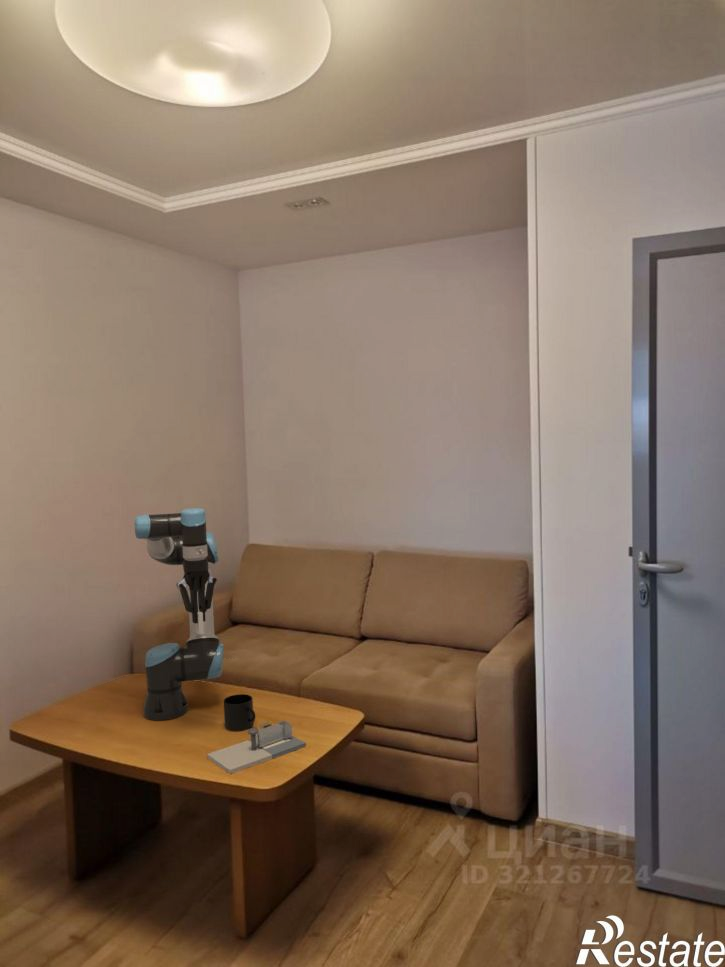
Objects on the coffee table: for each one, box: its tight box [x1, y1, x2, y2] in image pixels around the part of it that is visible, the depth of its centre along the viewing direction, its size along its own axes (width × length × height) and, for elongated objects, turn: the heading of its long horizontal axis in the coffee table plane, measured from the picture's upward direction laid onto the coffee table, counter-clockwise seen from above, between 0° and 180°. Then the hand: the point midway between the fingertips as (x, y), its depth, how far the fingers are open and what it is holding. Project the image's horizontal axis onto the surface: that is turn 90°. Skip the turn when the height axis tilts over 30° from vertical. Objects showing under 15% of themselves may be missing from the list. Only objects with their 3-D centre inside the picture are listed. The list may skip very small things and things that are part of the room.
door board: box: [206, 727, 306, 775], centre depth 221 cm, size 14×26×7 cm, turn 129°
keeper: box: [259, 721, 273, 730], centre depth 227 cm, size 2×3×5 cm
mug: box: [223, 693, 256, 732], centre depth 241 cm, size 9×12×9 cm
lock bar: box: [256, 719, 293, 747], centre depth 225 cm, size 11×4×4 cm, turn 131°
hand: (199, 632), depth 230 cm, fingers closed
